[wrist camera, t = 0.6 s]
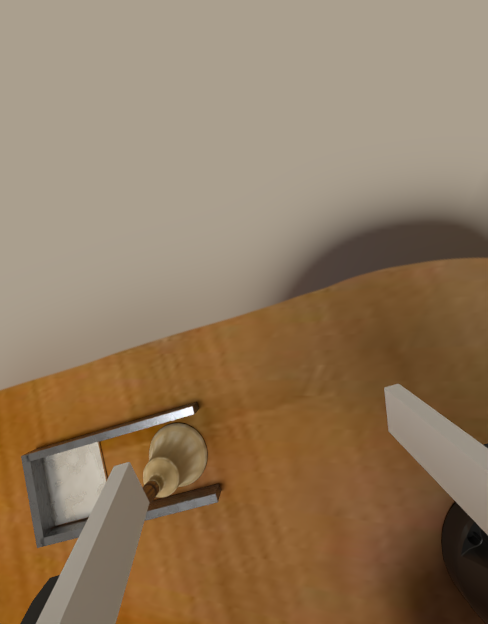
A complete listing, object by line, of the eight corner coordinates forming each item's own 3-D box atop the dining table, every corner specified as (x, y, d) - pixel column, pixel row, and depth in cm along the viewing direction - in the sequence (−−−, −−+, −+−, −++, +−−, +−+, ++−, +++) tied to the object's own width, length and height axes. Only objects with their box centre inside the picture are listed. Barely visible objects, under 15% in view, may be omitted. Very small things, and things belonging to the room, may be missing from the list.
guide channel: (221, 491, 31) (217, 502, 29) (51, 534, 33) (37, 547, 31) (196, 401, 32) (192, 406, 30) (35, 449, 34) (21, 456, 32)
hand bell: (178, 498, 31) (84, 668, 16) (138, 452, 33) (14, 564, 17) (219, 455, 31) (169, 580, 15) (178, 409, 32) (92, 483, 17)
